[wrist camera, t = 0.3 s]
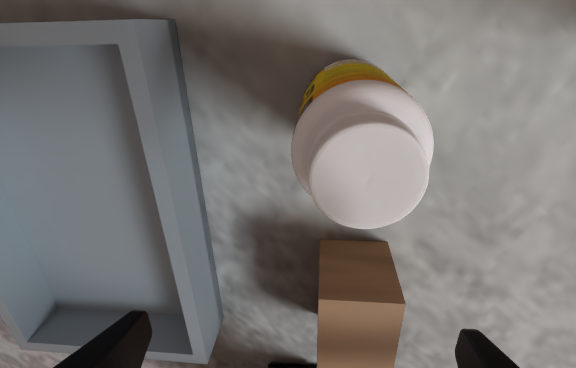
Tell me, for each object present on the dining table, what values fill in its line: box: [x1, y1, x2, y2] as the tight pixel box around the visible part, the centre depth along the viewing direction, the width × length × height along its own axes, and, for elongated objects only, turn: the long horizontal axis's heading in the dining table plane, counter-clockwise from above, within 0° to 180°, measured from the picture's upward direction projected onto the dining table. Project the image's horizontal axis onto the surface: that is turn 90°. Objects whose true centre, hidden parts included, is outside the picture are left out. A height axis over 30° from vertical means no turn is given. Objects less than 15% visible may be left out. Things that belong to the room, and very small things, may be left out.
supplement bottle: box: [291, 59, 434, 229], centre depth 15 cm, size 6×6×10 cm
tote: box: [0, 19, 223, 364], centre depth 22 cm, size 24×16×4 cm, turn 2°
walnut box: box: [317, 239, 406, 368], centre depth 23 cm, size 8×5×6 cm, turn 2°
